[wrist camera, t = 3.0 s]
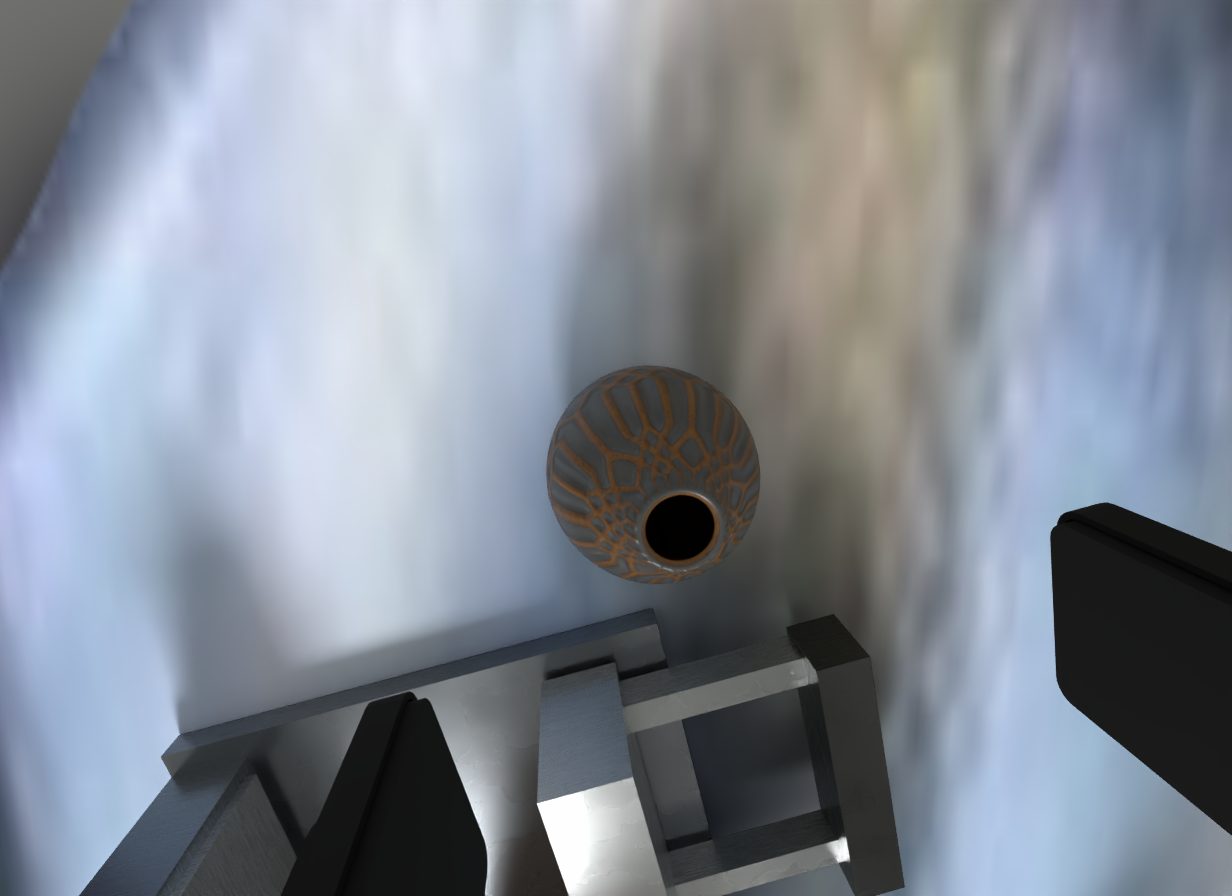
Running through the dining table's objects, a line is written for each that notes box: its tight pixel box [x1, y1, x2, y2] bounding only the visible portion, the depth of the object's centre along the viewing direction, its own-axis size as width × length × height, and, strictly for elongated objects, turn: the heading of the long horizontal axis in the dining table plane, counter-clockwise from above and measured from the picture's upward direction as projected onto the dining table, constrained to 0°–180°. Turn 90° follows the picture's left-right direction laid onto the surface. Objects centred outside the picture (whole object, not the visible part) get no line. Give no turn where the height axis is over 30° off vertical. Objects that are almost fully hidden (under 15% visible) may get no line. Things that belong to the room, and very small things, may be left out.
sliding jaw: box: [537, 614, 905, 896], centre depth 23 cm, size 12×12×6 cm
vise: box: [79, 609, 712, 896], centre depth 24 cm, size 20×14×7 cm
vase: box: [546, 366, 760, 584], centre depth 20 cm, size 7×7×9 cm
